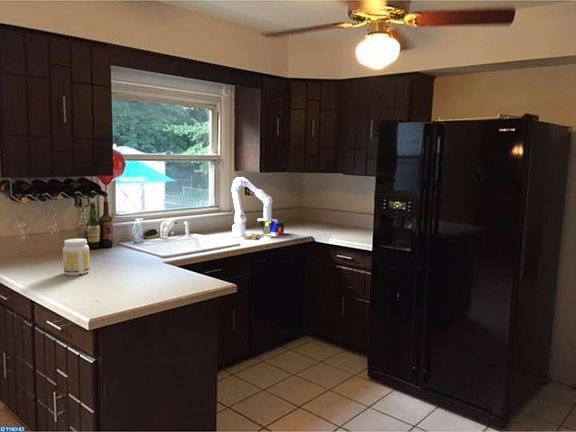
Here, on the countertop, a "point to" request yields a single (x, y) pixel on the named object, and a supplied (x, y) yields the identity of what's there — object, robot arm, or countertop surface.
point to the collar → (251, 237)
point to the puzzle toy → (276, 228)
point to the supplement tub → (76, 257)
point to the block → (266, 230)
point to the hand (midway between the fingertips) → (267, 231)
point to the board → (265, 238)
